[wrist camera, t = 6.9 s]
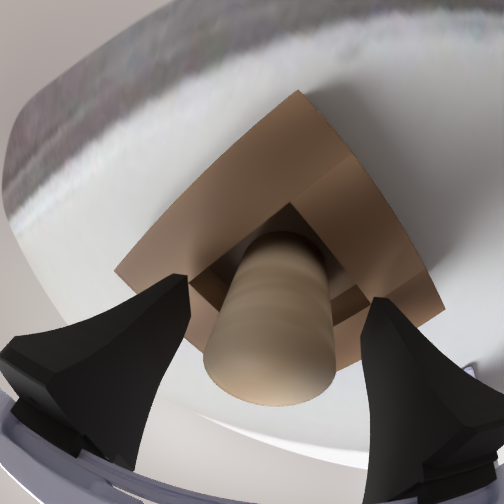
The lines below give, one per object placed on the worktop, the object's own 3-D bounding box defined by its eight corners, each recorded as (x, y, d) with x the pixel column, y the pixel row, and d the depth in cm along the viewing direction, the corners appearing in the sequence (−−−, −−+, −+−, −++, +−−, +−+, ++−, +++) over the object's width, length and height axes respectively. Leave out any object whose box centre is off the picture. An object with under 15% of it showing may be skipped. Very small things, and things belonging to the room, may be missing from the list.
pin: (342, 277, 13) (360, 379, 8) (277, 317, 15) (261, 416, 9) (289, 213, 12) (278, 295, 7) (223, 263, 14) (178, 355, 8)
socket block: (425, 275, 13) (445, 309, 11) (271, 364, 18) (265, 400, 15) (298, 96, 11) (298, 89, 8) (142, 244, 15) (113, 270, 12)
